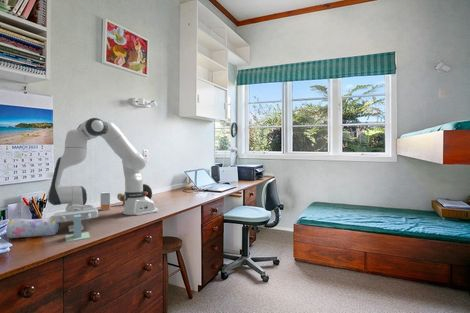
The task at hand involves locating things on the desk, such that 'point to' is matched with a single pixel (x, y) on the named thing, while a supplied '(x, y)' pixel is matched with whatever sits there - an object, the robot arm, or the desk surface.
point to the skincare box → (105, 200)
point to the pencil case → (32, 227)
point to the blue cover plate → (77, 226)
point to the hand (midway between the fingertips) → (77, 218)
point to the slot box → (71, 228)
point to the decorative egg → (147, 190)
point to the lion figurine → (121, 198)
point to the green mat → (84, 236)
